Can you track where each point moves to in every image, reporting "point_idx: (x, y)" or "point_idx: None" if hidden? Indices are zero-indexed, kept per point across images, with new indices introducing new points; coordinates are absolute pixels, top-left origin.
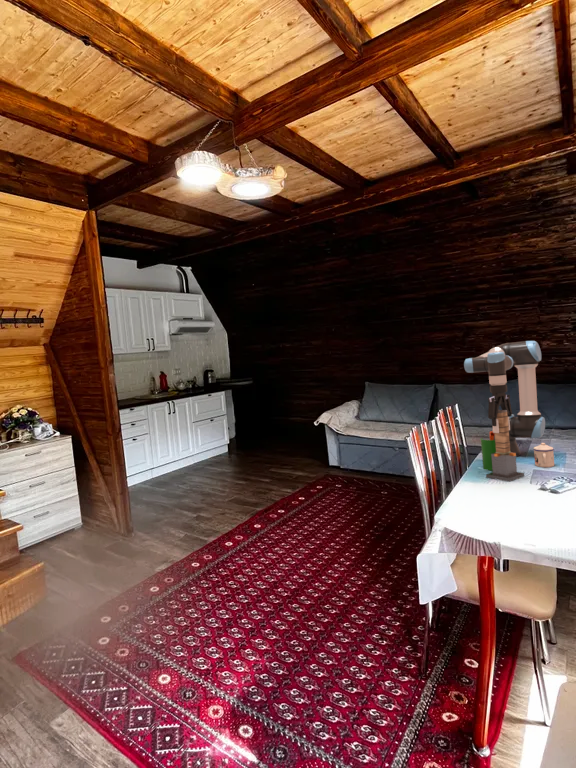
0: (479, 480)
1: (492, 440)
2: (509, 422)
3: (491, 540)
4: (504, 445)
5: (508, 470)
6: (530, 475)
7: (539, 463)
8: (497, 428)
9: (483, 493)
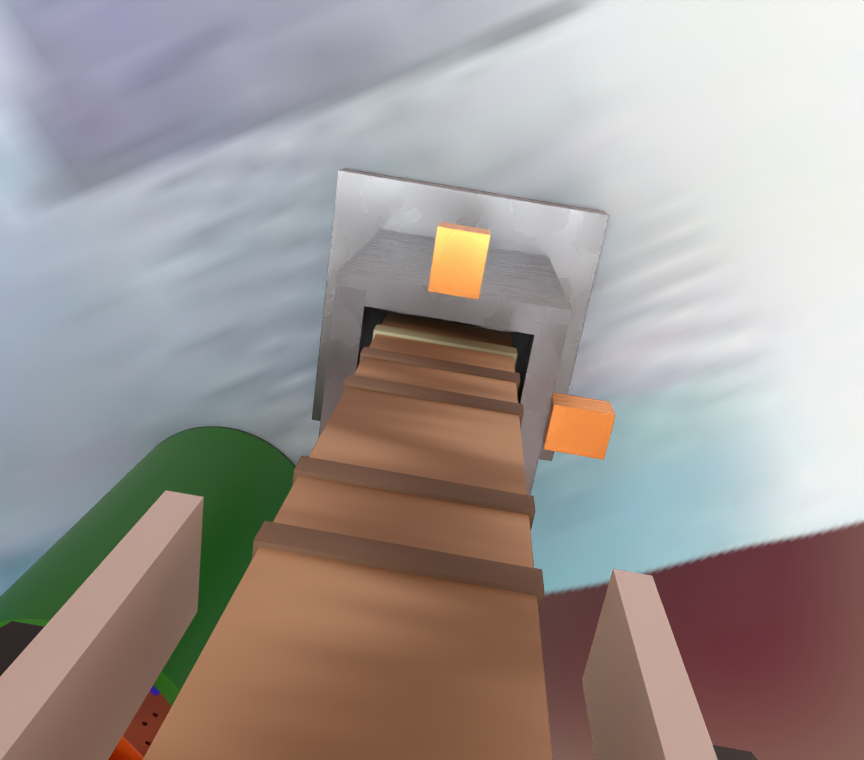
0: (678, 453)
1: (178, 686)
2: (66, 609)
3: None
4: (506, 394)
5: (526, 264)
6: (281, 130)
7: None
8: (678, 660)
9: None
